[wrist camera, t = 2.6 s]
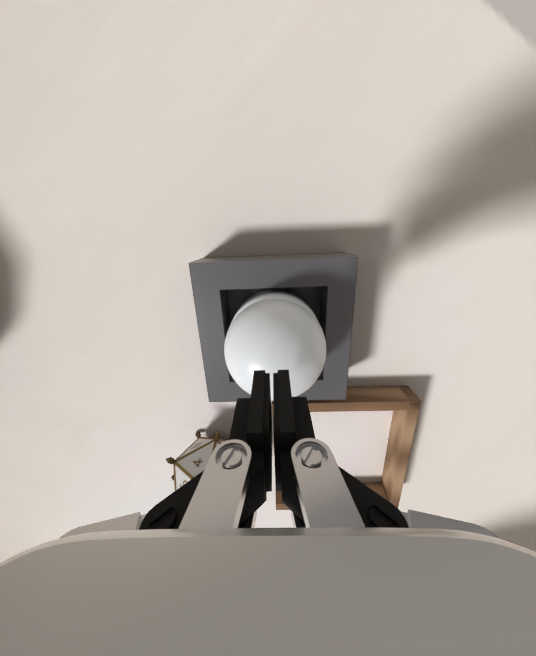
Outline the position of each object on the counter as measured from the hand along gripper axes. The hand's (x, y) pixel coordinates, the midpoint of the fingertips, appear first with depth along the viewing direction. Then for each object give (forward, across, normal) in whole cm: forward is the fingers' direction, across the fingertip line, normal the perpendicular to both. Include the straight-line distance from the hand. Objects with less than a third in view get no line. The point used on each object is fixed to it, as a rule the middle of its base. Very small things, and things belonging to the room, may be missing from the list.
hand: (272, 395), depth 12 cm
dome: (+10, 0, +1) cm, 10 cm away
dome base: (+12, 0, +1) cm, 12 cm away
